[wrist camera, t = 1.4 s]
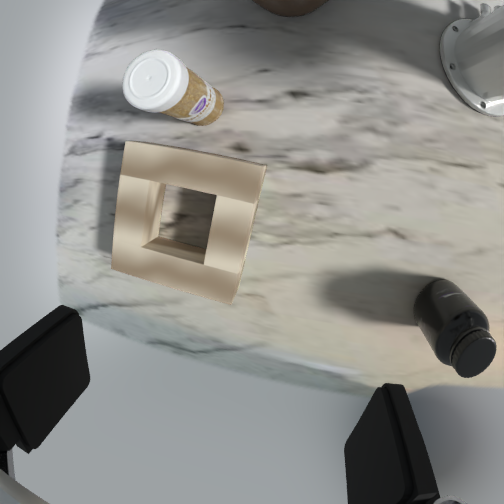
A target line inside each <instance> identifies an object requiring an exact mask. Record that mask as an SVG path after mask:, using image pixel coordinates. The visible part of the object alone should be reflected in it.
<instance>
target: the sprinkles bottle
mask: <svg viewBox="0 0 504 504" xmlns="http://www.w3.org/2000/svg"><path fill="white" fill-rule="evenodd" d="M122 88H123V93H124V96H125V98H126V100H127V101H128V102H129V103H130V104H131V105H132V106H134V107H136V108H138V109H141V110H144V111H147V112H153V113H156V112H160V113H163V114H166V115H169V116H172V117H174V118H176V119H180V120H183V121H187V122H191V123H192V124H195V125H201V126H203V125H208V124H211V123H213V122H214V121H216V119H218V118H219V116H220V115H221V113H222V111H223V104H224V103H223V98H222V95H221V94H220V92H219V91H218V90H216V89H215V88H213V87H212V86H211V85H210V84H208V83H207V82H206V81H205V80H203V79H202V78H201V77H200V76H198V75H197V74H196V73H194V72H193V71H192V70H190V69H188V68H187V67H186V66H185V64H184V63H183V62H182V61H181V60H180V59H179V58H178V57H176V56H175V55H173V54H172V53H170V52H168V51H165V50H150V51H147V52H145V53H143V54H141V55H139V56H138V57H136V58H135V59H134V60H133V61H132V62H131V63H130V65H129V66H128V68H127V70H126V72H125V74H124V77H123V83H122Z"/></svg>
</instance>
